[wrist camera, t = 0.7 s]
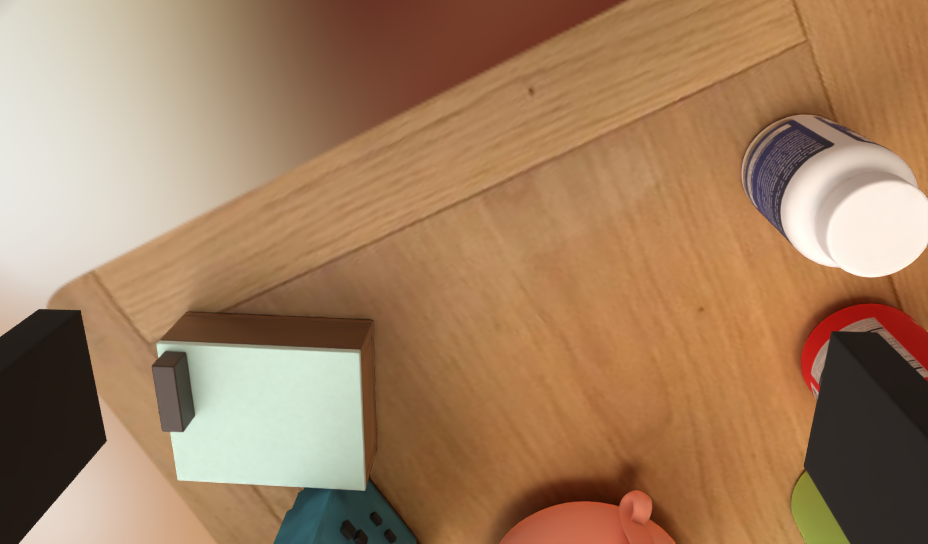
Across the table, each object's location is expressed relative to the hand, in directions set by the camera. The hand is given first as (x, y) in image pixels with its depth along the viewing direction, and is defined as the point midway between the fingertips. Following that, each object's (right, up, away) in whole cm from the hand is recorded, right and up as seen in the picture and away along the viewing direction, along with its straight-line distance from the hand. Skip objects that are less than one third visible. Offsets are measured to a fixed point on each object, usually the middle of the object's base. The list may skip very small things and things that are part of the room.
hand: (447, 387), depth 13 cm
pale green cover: (-11, -6, +28) cm, 30 cm away
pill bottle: (+17, +7, +25) cm, 31 cm away
